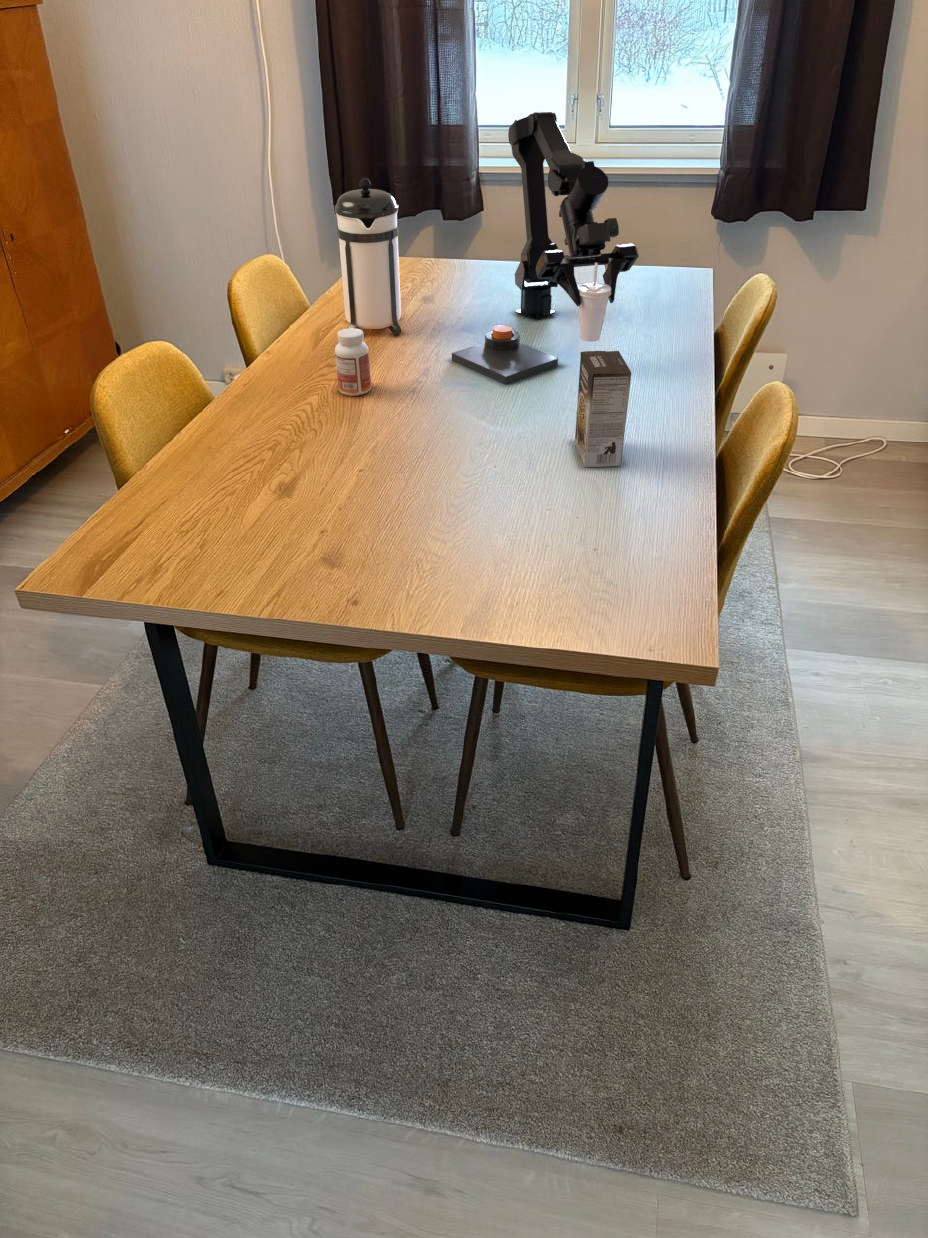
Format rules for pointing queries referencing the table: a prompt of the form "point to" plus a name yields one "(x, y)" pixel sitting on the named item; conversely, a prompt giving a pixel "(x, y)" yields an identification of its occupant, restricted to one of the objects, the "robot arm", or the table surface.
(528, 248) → the robot arm
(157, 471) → the table surface
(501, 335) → the power button
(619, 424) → the coffee box
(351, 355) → the pill bottle
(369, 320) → the coffee press
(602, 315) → the smoothie
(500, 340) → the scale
